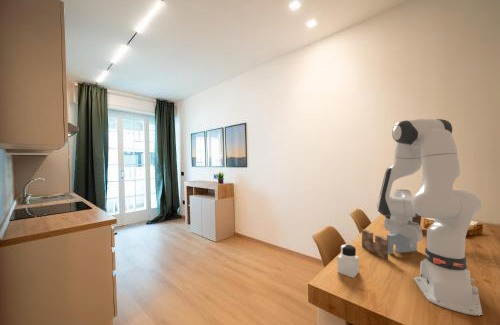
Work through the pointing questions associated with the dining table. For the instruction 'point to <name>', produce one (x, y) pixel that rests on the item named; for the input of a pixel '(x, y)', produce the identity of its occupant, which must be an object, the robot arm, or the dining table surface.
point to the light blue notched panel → (399, 243)
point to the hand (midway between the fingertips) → (402, 243)
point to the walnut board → (375, 244)
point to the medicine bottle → (348, 261)
